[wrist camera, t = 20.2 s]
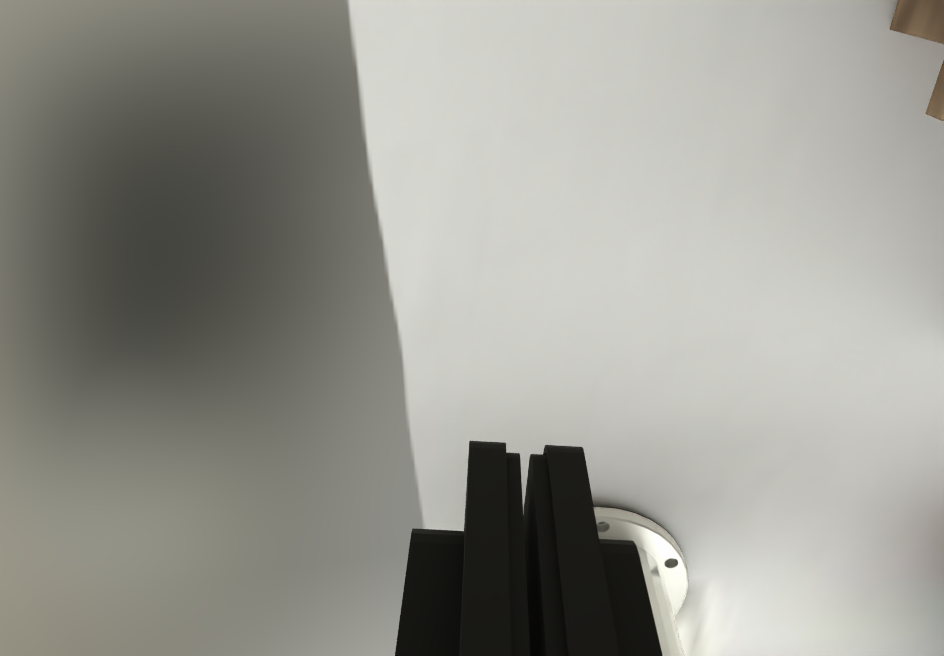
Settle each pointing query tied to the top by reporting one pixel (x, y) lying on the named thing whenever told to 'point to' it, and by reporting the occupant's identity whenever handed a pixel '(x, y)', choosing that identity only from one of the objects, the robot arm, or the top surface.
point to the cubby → (924, 37)
